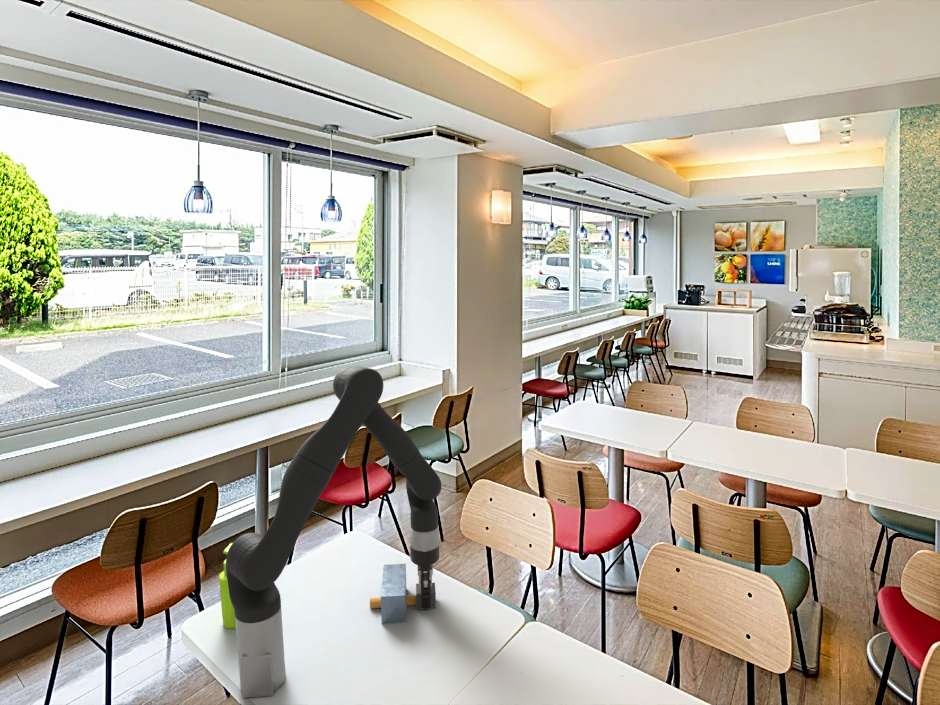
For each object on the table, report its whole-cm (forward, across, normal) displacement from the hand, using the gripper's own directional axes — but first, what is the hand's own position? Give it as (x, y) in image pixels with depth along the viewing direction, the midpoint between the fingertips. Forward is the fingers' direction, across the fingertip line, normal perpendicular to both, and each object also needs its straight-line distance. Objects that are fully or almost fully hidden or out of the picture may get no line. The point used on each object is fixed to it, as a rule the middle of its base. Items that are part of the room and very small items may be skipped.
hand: (425, 601), depth 150 cm
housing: (+1, 0, -8) cm, 8 cm away
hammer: (+1, 0, -6) cm, 6 cm away
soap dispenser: (+1, +2, -48) cm, 48 cm away
